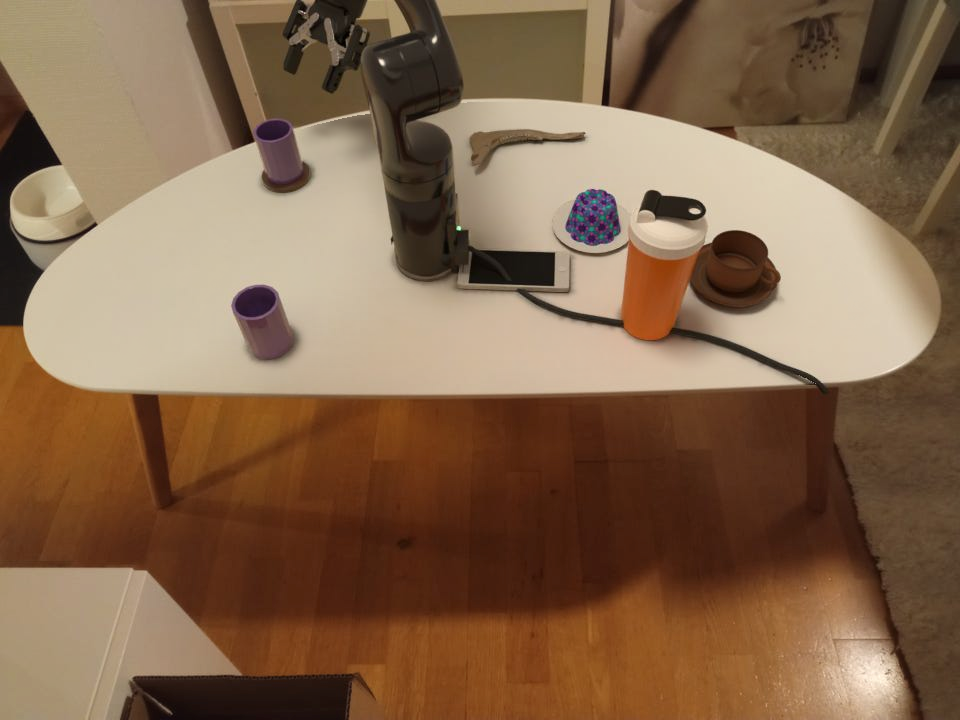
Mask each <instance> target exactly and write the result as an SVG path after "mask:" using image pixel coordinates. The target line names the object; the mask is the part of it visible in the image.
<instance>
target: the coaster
mask: <svg viewBox="0 0 960 720" xmlns="http://www.w3.org/2000/svg"><path fill="white" fill-rule="evenodd" d="M302 163H303V168H304V172H303V175H302V176H301V177H300V178H299V179H298V180H296V181H295V182H292V183H289V184H275V183H272V182H271V181H269V179H268V178H267V175H266V173H265V170H264V169H263V171H262V173H261V181H262V185H264V187H265V188H266V189H268V190H269V191H271V192H274V193H291V192H294V191H297V190H299V189H301V188H302V187H304V186H305V185H306V184H307V183H308V182H309V180H310V178H311V170H310V167H309V165H308V164H307V163H306V162H305V161H304V160H302Z"/></svg>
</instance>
